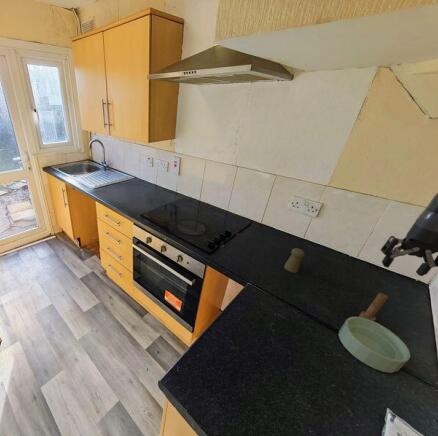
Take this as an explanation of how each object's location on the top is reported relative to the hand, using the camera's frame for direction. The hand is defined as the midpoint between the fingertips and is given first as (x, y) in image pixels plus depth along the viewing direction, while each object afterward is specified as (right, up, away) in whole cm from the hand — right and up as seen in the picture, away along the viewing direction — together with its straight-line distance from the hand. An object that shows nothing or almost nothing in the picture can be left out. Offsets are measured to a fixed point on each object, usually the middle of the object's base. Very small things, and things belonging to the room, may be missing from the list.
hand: (401, 270), depth 73 cm
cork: (-13, -8, +37) cm, 39 cm away
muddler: (-2, -22, +11) cm, 24 cm away
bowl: (-11, -26, +1) cm, 28 cm away
